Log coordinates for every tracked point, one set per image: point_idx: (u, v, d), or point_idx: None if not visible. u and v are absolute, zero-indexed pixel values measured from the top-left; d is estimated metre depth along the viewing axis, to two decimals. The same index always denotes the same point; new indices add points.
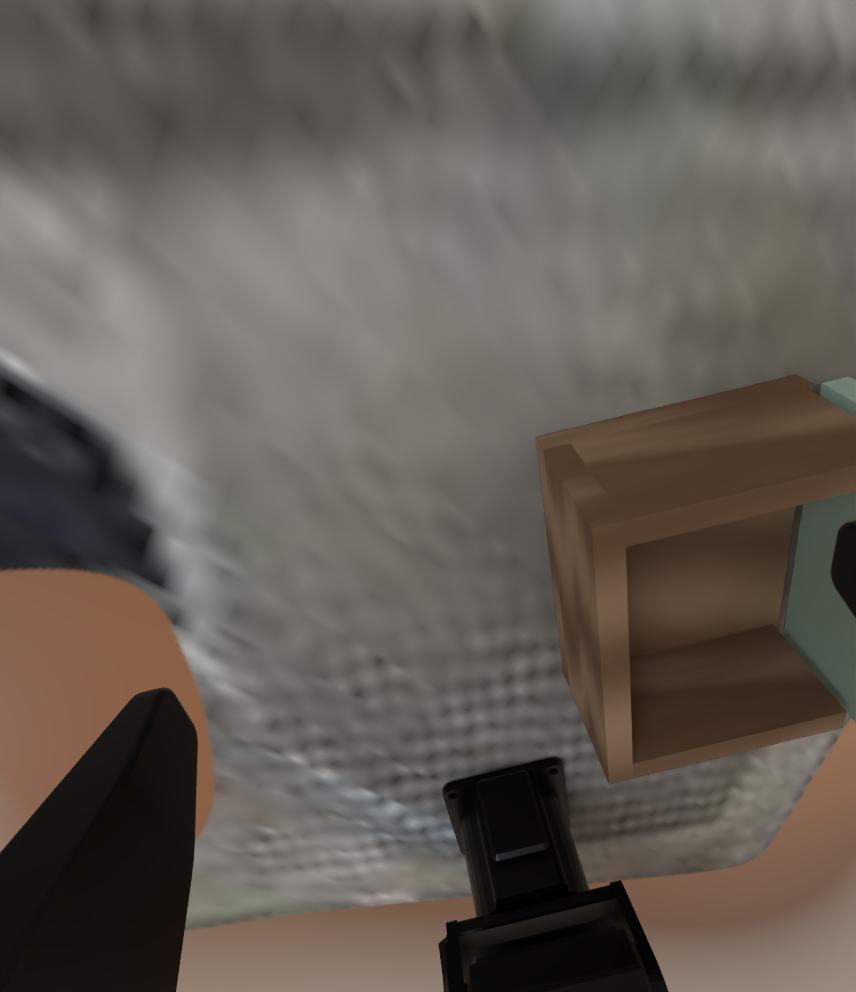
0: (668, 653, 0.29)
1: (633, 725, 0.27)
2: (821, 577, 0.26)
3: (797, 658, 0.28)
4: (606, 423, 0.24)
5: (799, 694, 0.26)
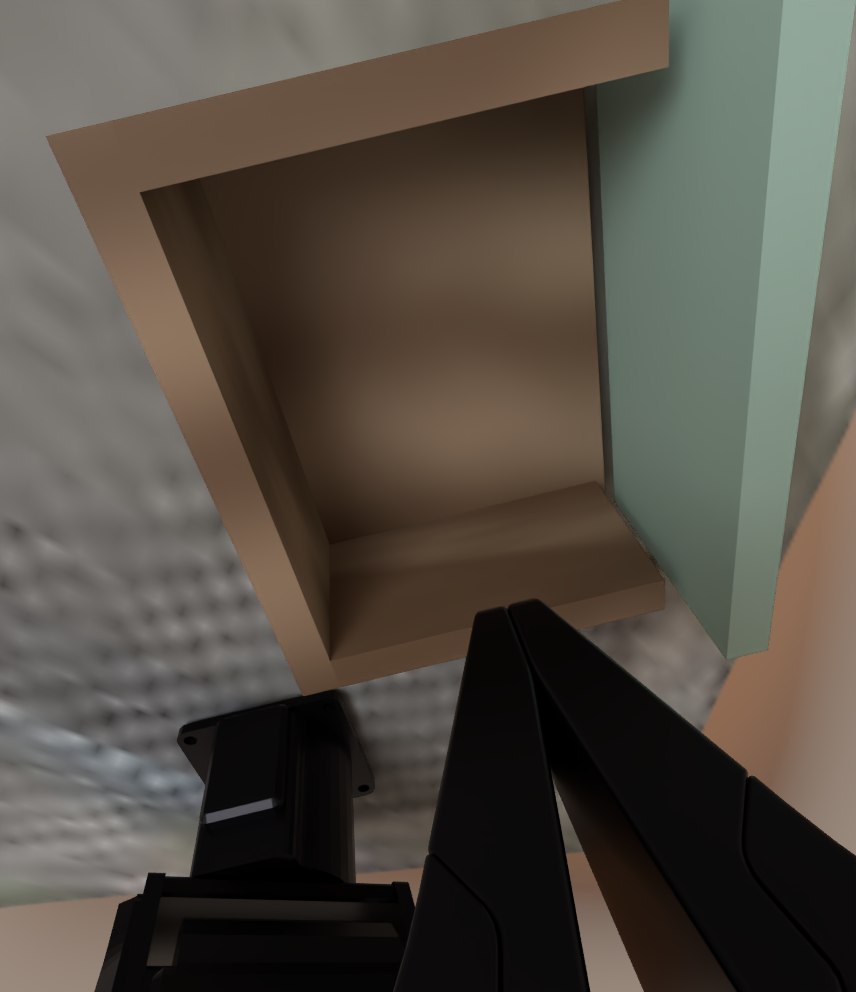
0: (442, 521, 0.20)
1: (354, 611, 0.18)
2: (632, 377, 0.17)
3: (615, 518, 0.19)
4: None
5: (604, 562, 0.17)
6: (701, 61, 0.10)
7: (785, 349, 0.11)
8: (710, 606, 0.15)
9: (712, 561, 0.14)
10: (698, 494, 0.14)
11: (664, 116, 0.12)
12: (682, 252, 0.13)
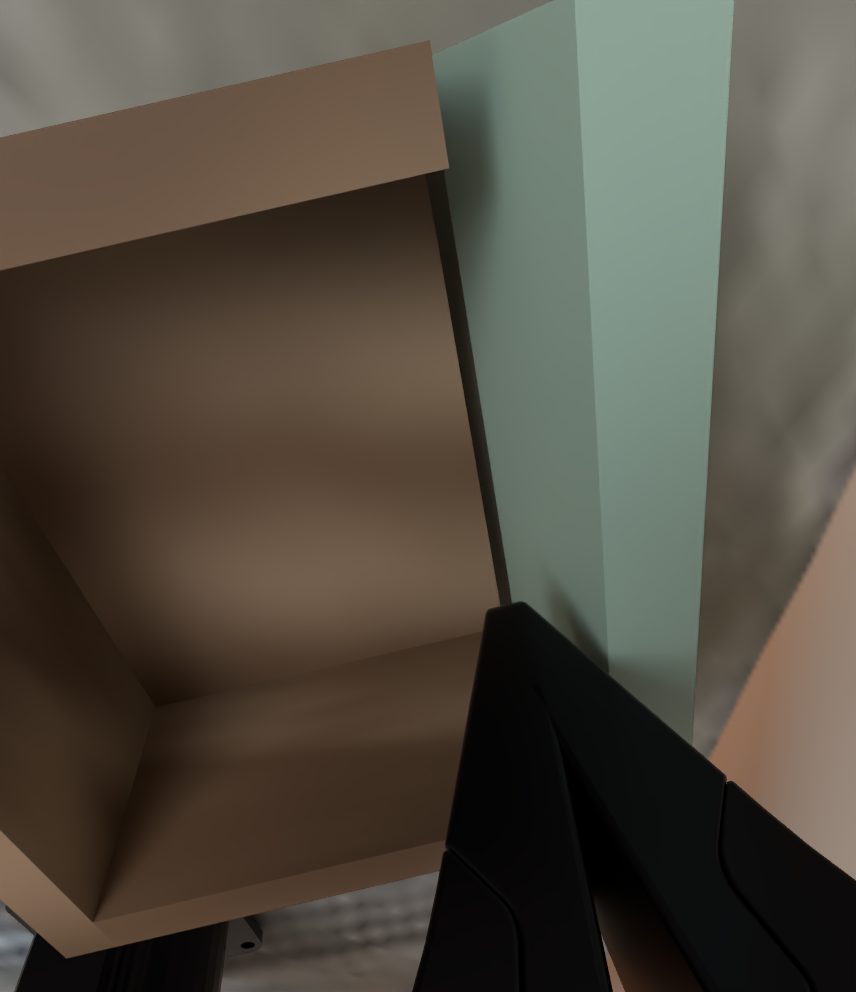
0: (296, 681, 0.16)
1: (150, 829, 0.13)
2: (513, 533, 0.13)
3: None
4: None
5: None
6: (511, 158, 0.06)
7: (659, 619, 0.07)
8: None
9: None
10: None
11: (492, 222, 0.08)
12: (529, 421, 0.08)
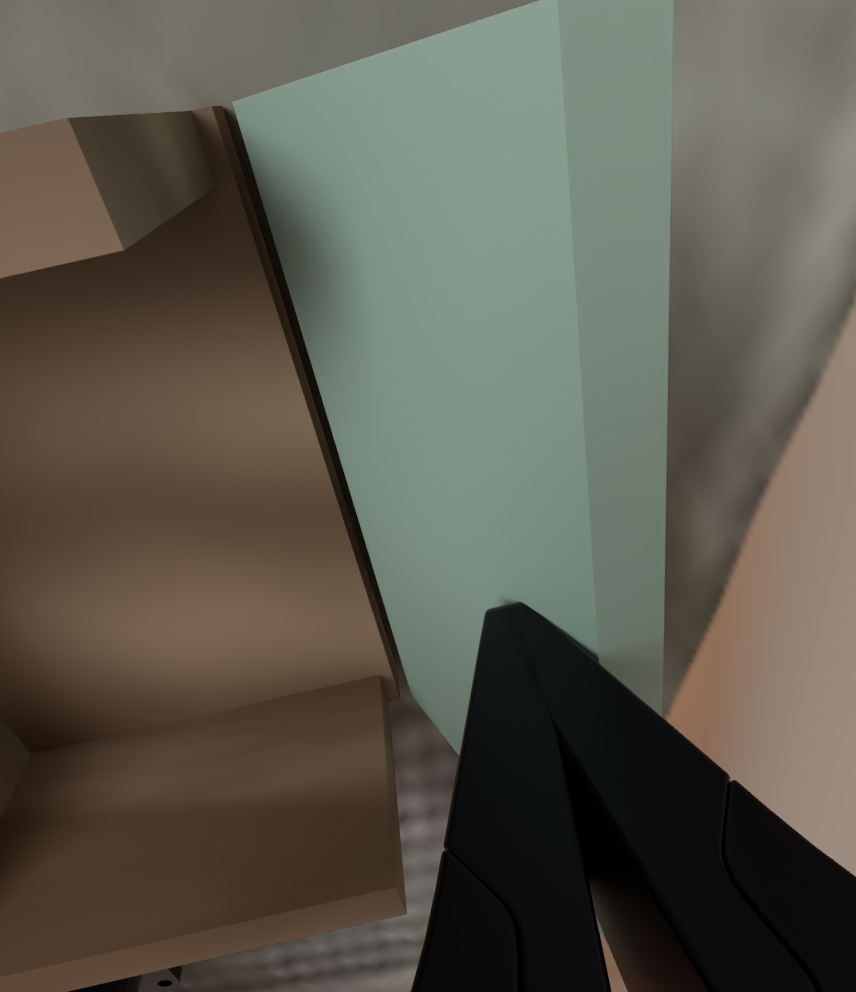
0: (175, 728, 0.15)
1: None
2: (402, 574, 0.12)
3: (378, 749, 0.14)
4: None
5: (333, 836, 0.12)
6: (416, 182, 0.06)
7: (636, 607, 0.07)
8: None
9: None
10: None
11: (371, 256, 0.07)
12: (443, 450, 0.08)
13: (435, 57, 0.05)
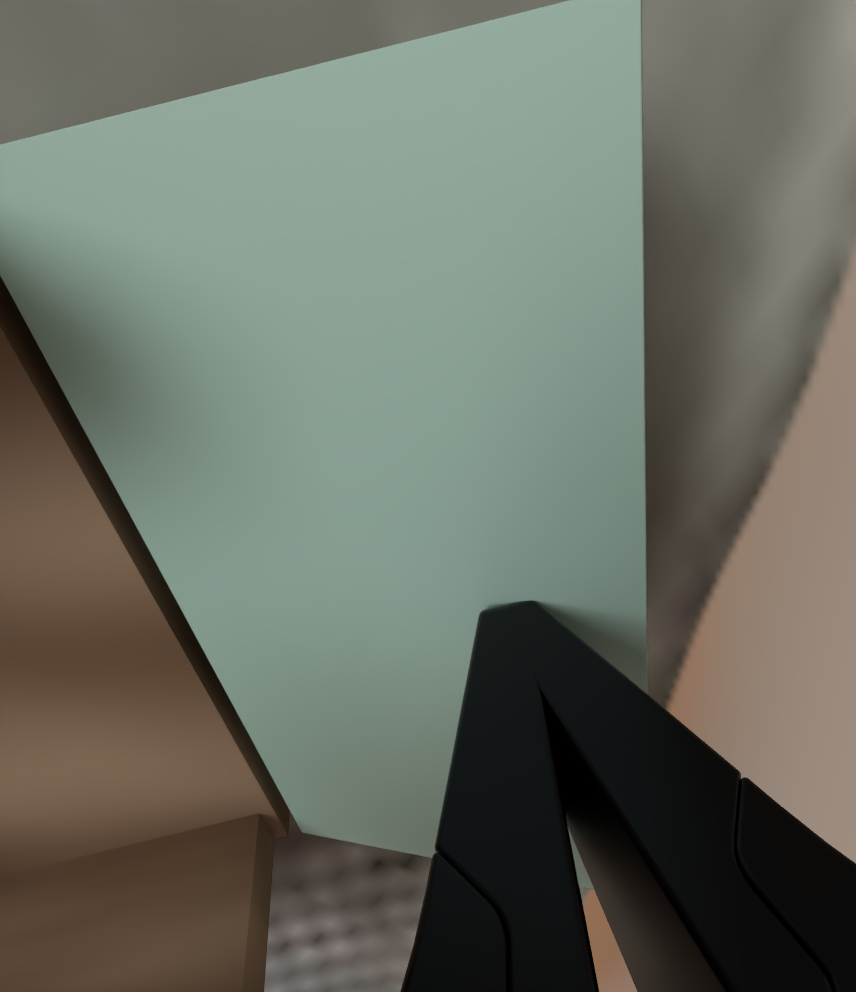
0: (11, 883, 0.13)
1: None
2: (302, 678, 0.10)
3: (240, 925, 0.11)
4: None
5: None
6: (390, 194, 0.06)
7: None
8: None
9: None
10: None
11: (287, 299, 0.07)
12: (407, 487, 0.08)
13: (445, 54, 0.05)
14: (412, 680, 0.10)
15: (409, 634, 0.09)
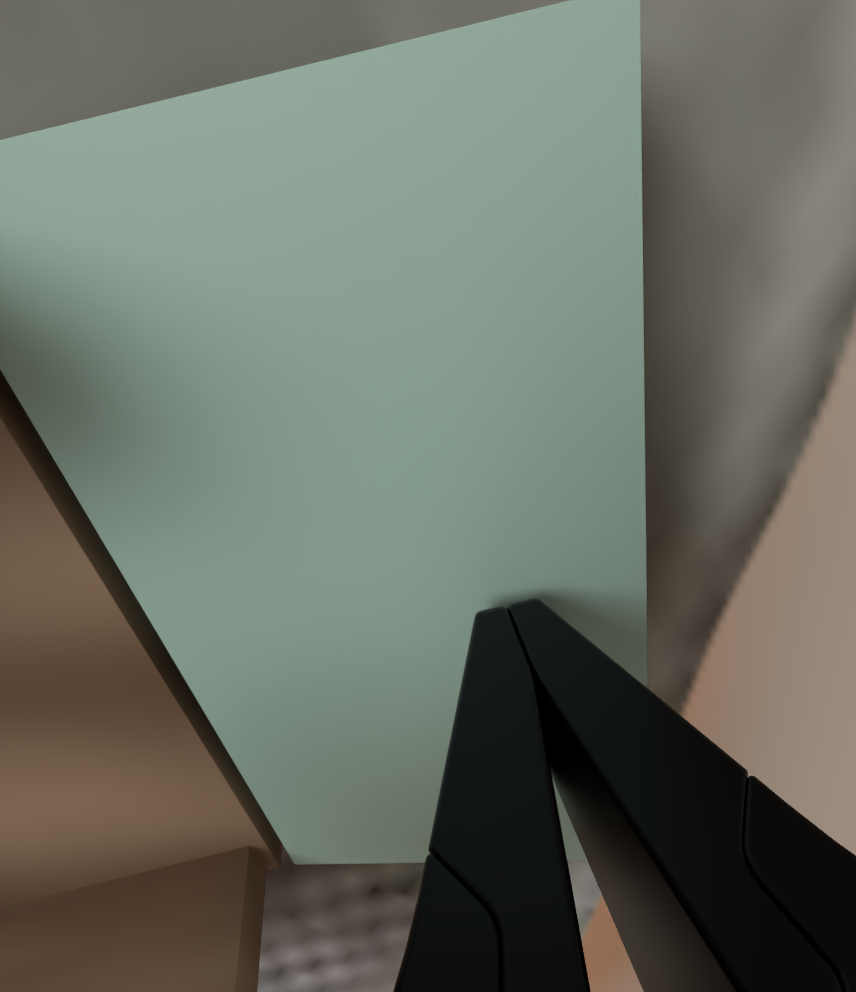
0: None
1: None
2: (298, 696, 0.10)
3: (228, 969, 0.11)
4: None
5: None
6: (402, 186, 0.06)
7: None
8: None
9: None
10: None
11: (288, 297, 0.06)
12: (414, 478, 0.08)
13: (457, 49, 0.05)
14: (417, 678, 0.10)
15: (414, 630, 0.09)
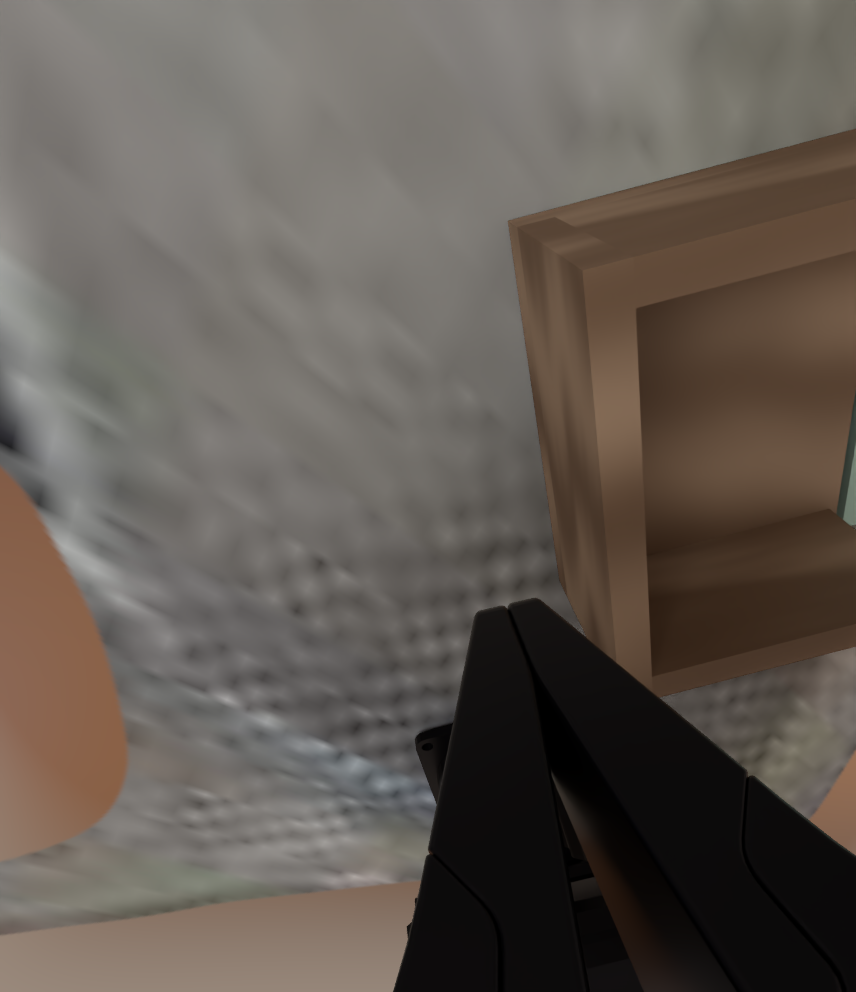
0: (694, 548, 0.23)
1: (651, 631, 0.20)
2: None
3: None
4: (605, 197, 0.17)
5: None
6: None
7: None
8: None
9: None
10: None
11: None
12: None
13: None
14: None
15: None
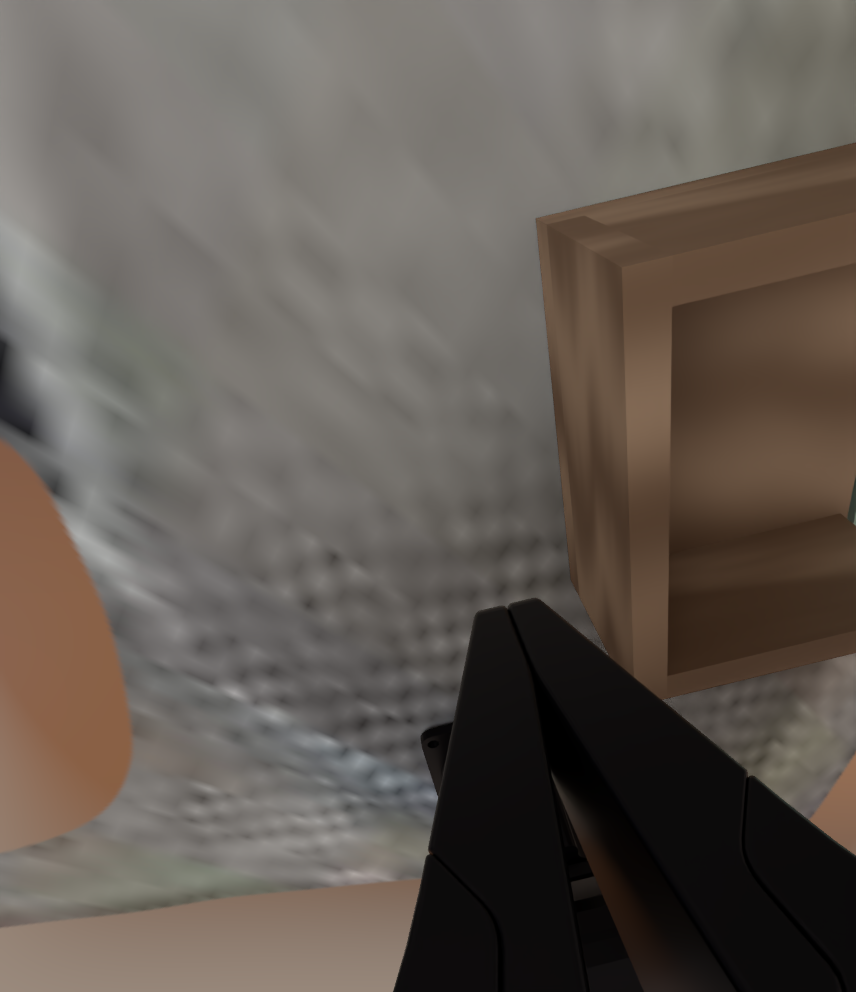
0: (707, 549, 0.23)
1: None
2: None
3: None
4: (633, 197, 0.17)
5: None
6: None
7: None
8: None
9: None
10: None
11: None
12: None
13: None
14: None
15: None
